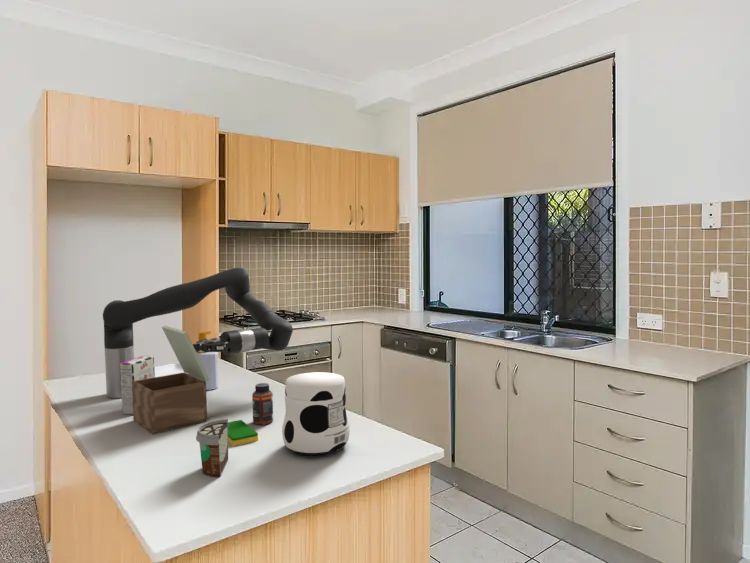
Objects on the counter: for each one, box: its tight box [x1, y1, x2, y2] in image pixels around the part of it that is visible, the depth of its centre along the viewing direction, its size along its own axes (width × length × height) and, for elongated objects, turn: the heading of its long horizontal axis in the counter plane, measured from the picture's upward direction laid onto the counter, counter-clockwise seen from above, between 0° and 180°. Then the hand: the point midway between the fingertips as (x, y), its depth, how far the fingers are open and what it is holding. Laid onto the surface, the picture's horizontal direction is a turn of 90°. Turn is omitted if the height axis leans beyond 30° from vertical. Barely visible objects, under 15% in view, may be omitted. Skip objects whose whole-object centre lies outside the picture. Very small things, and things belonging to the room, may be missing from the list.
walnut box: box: [132, 372, 208, 435], centre depth 160 cm, size 16×16×12 cm
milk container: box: [281, 371, 351, 456], centre depth 138 cm, size 17×17×18 cm
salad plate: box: [154, 362, 184, 377], centre depth 212 cm, size 21×21×3 cm
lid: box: [161, 325, 210, 382], centre depth 163 cm, size 17×17×1 cm
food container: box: [195, 418, 229, 478], centre depth 126 cm, size 12×6×10 cm, turn 5°
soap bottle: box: [189, 330, 220, 391], centre depth 198 cm, size 13×8×20 cm, turn 58°
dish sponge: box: [228, 419, 259, 447], centre depth 148 cm, size 7×14×2 cm, turn 33°
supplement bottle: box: [251, 382, 274, 426], centre depth 159 cm, size 6×6×11 cm
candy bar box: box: [120, 355, 155, 416], centre depth 171 cm, size 11×5×16 cm, turn 168°
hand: (186, 349), depth 163 cm, fingers closed
